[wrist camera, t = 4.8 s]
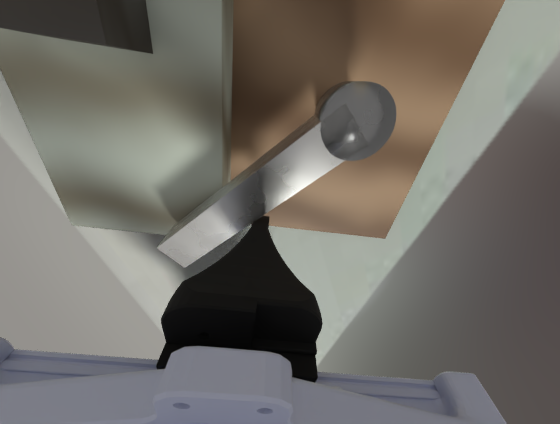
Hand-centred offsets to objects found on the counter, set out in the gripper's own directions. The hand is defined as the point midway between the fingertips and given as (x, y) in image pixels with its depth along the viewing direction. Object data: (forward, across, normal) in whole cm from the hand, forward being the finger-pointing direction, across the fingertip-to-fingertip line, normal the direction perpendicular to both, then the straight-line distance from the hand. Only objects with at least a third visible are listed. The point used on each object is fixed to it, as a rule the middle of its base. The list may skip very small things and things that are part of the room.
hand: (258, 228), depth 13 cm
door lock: (+5, +1, -6) cm, 7 cm away
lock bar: (+1, 0, -3) cm, 3 cm away
